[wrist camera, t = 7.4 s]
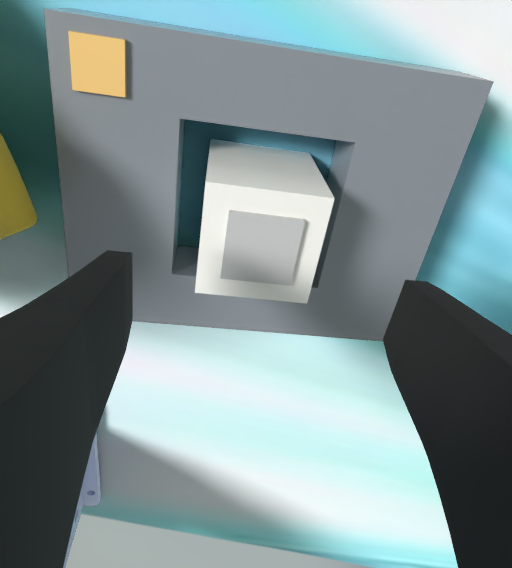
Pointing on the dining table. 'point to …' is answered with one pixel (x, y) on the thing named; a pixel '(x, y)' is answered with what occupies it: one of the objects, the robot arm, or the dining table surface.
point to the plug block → (261, 222)
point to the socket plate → (257, 115)
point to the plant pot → (13, 197)
